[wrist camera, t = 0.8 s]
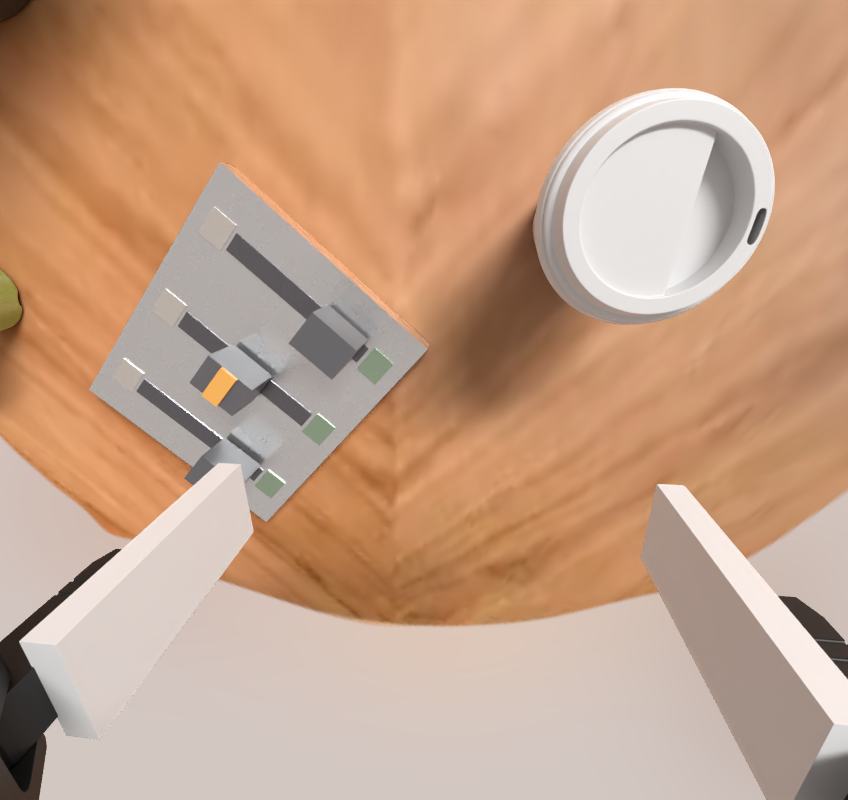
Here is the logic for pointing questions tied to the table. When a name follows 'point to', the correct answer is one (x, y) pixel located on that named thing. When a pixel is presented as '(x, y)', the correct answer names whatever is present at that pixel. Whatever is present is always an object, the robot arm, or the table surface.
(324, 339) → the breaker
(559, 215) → the coffee cup
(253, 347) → the panel
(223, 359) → the breaker
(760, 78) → the table surface
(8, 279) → the plant pot
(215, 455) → the block
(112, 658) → the robot arm
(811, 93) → the table surface
